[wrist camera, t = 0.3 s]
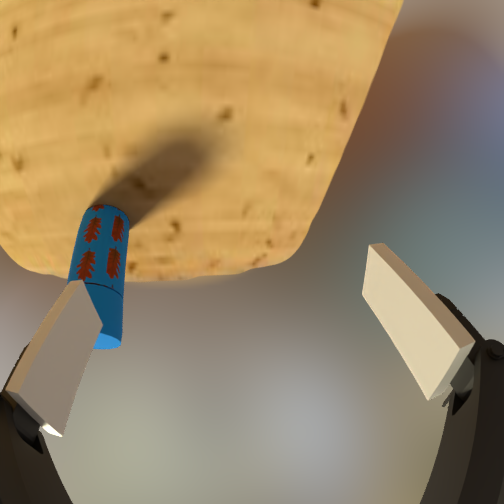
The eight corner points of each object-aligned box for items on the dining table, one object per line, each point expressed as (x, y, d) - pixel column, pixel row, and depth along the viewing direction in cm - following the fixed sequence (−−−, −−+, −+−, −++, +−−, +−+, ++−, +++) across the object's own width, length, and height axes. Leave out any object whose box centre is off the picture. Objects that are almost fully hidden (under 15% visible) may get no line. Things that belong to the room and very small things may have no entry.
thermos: (75, 206, 46) (50, 329, 32) (124, 201, 48) (109, 330, 34) (91, 239, 55) (77, 348, 41) (134, 236, 57) (129, 349, 43)
